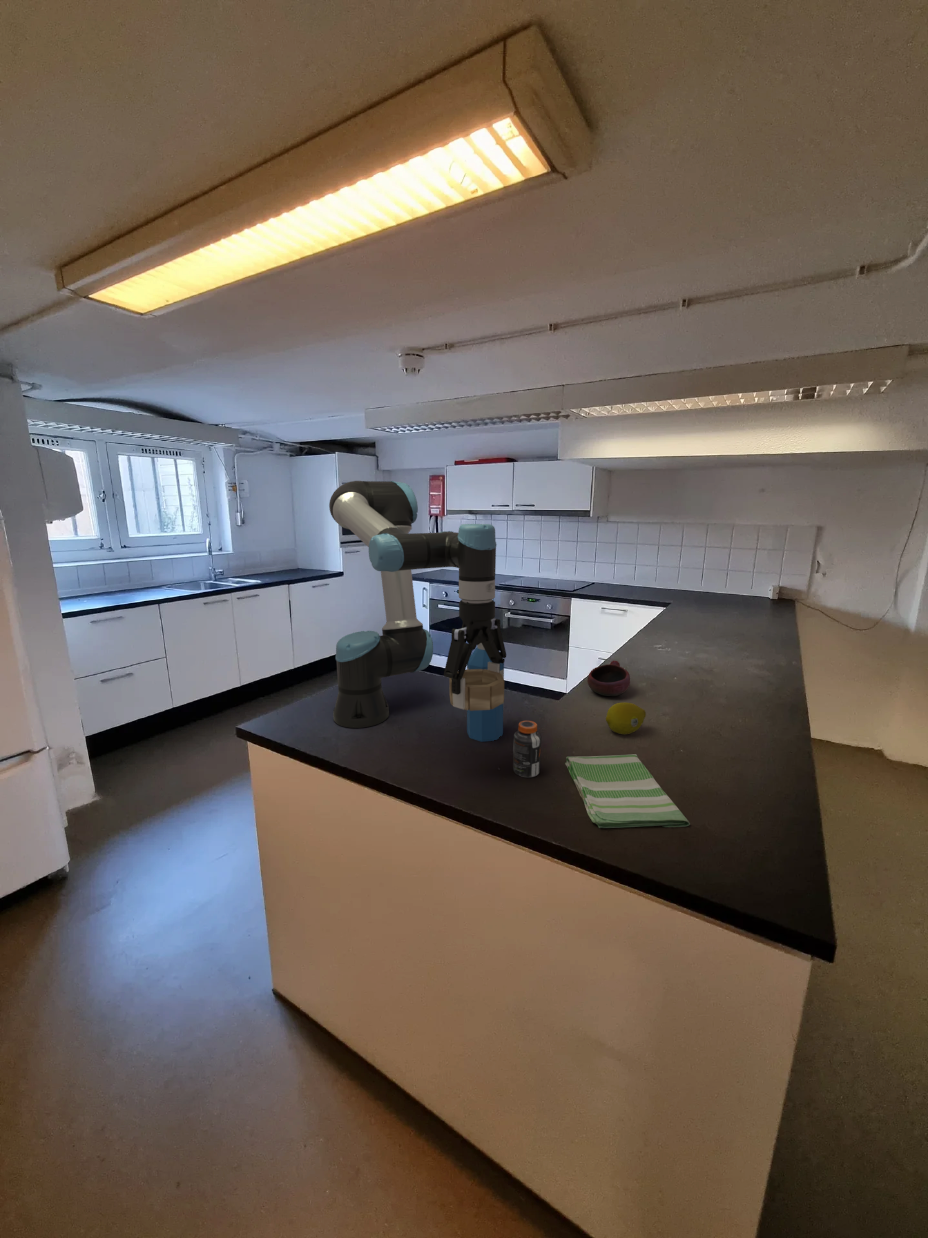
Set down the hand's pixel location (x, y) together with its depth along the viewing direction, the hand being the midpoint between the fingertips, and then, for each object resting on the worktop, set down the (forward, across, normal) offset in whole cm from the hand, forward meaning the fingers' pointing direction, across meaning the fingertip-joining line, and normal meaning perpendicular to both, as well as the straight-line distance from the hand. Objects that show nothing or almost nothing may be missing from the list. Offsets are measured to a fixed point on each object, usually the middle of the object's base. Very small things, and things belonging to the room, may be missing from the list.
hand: (476, 698), depth 105 cm
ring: (0, 0, 0) cm, 0 cm away
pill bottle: (+17, +6, -10) cm, 20 cm away
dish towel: (+17, +11, -28) cm, 35 cm away
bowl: (+17, +62, -4) cm, 64 cm away
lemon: (+17, +38, -19) cm, 45 cm away
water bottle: (+17, +14, +9) cm, 24 cm away
